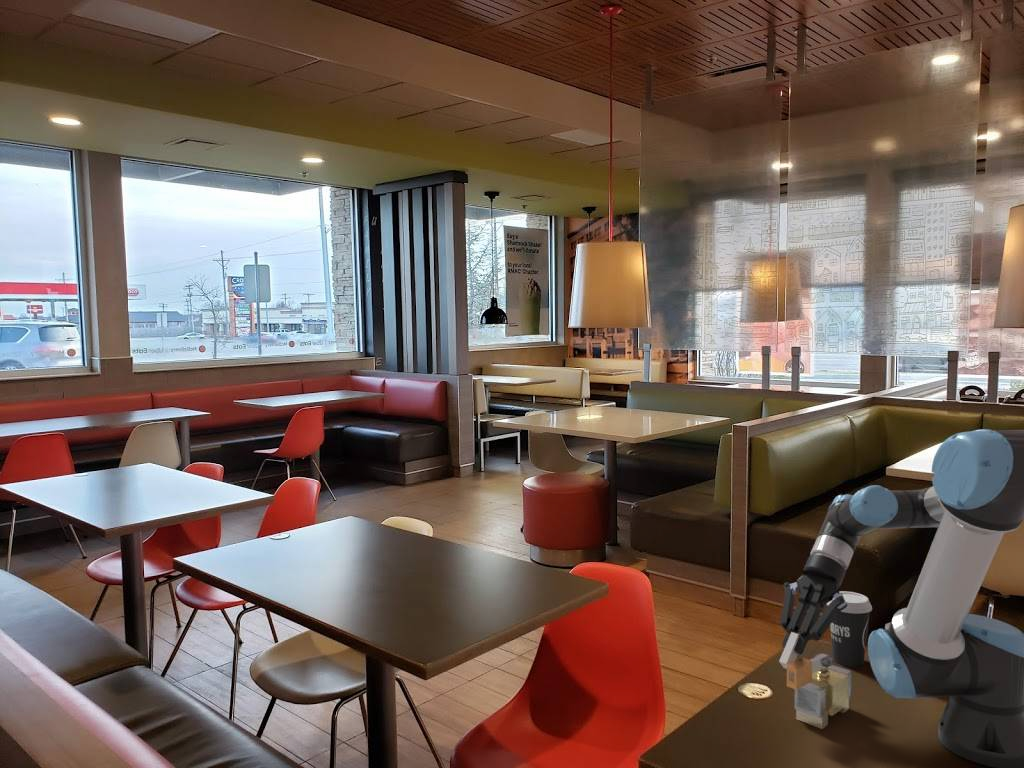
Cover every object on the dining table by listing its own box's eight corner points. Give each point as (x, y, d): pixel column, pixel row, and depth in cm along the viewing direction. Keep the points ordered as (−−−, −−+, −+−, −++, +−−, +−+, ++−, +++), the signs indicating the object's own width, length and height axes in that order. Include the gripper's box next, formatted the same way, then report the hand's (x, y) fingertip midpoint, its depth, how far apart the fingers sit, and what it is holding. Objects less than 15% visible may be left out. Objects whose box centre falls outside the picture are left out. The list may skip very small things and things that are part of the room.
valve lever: (820, 666, 155) (820, 646, 155) (835, 671, 153) (835, 651, 153) (783, 685, 147) (784, 664, 147) (799, 691, 145) (799, 670, 144)
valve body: (821, 697, 161) (822, 657, 160) (854, 709, 156) (855, 667, 155) (790, 719, 152) (790, 676, 151) (824, 732, 147) (824, 687, 146)
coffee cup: (833, 649, 185) (834, 587, 184) (876, 659, 179) (877, 595, 178) (820, 662, 178) (821, 598, 177) (864, 673, 172) (865, 607, 171)
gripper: (864, 580, 157) (823, 686, 147) (803, 566, 167) (761, 664, 157) (853, 560, 153) (810, 667, 143) (791, 546, 163) (747, 646, 153)
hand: (785, 665), depth 150 cm, fingers closed
